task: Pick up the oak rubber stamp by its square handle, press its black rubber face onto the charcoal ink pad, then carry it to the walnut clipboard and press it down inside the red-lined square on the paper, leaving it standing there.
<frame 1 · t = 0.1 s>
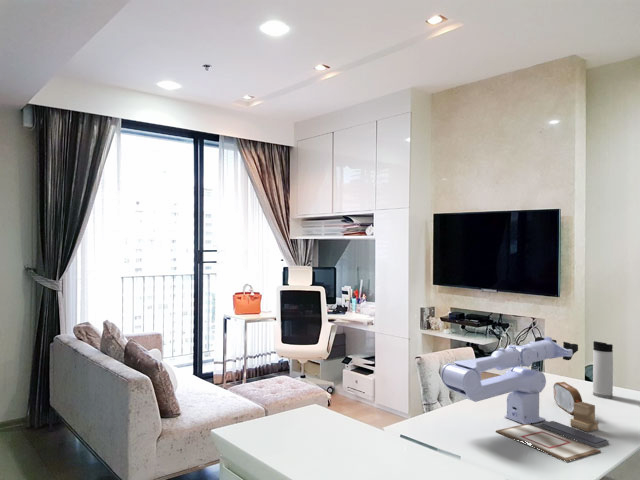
hand: (566, 345, 158), 22 cm above the table, tool horizontal, fingers open, 7 cm apart
travel mug: (602, 396, 176), on the table
stamp: (584, 428, 142), on the table
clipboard: (545, 441, 131), on the table
ink pad: (572, 435, 136), on the table
tin: (566, 411, 158), on the table
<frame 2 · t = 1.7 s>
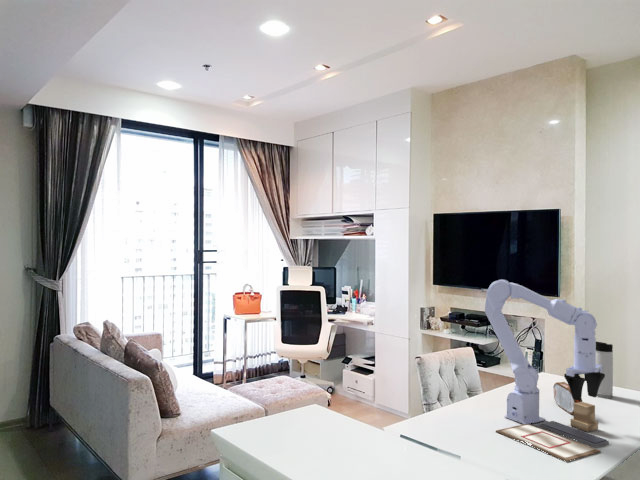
hand: (584, 398, 142), 9 cm above the table, tool pointing down, fingers open, 7 cm apart
nothing on the table moved.
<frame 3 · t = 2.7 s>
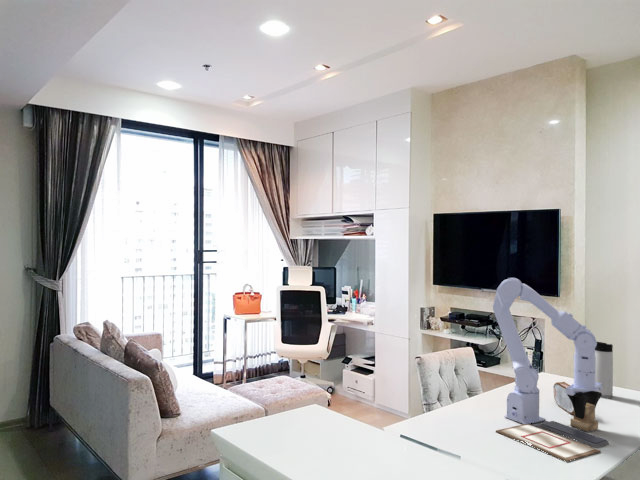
hand: (584, 416, 142), 3 cm above the table, tool pointing down, fingers closed on stamp, 4 cm apart
stamp: (584, 428, 142), on the table, touching gripper
everything else where it was.
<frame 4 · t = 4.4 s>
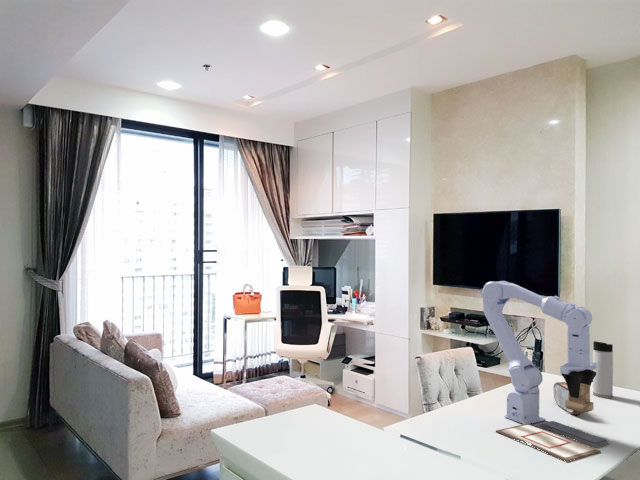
hand: (578, 396, 138), 10 cm above the table, tool pointing down, fingers closed on stamp, 4 cm apart
stamp: (579, 409, 138), point 7 cm above the table, touching gripper
everything else where it was.
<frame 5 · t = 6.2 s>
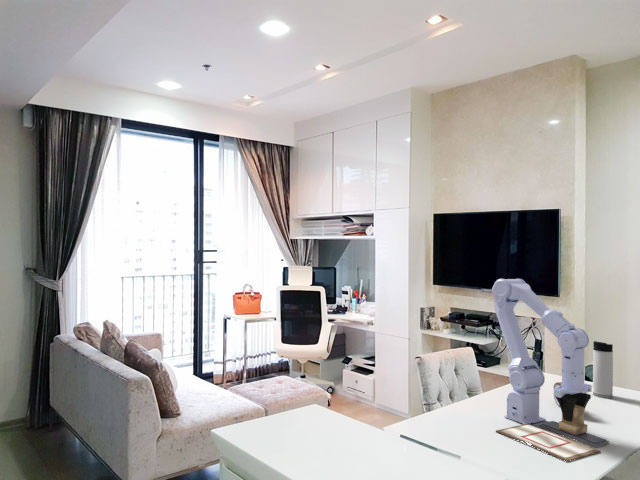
hand: (572, 419, 136), 4 cm above the table, tool pointing down, fingers closed on stamp, 4 cm apart
stamp: (572, 431, 136), point 1 cm above the table, touching gripper, ink pad
everything else where it was.
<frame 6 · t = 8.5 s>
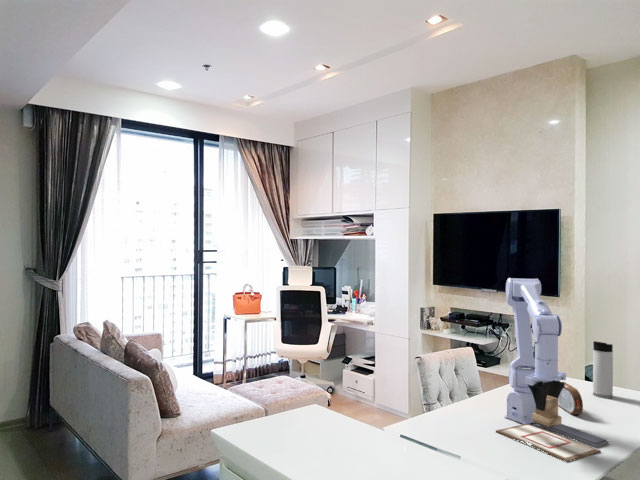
hand: (545, 408, 131), 9 cm above the table, tool pointing down, fingers closed on stamp, 4 cm apart
stamp: (546, 423, 131), point 5 cm above the table, touching gripper
everything else where it was.
when the fingers open (4 cm above the table, at t = 9.9 s): stamp stays where it is, resting on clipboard.
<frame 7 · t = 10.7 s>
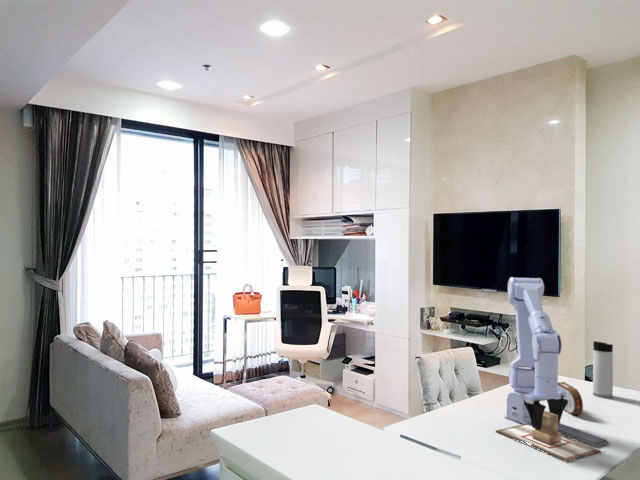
hand: (545, 426, 131), 4 cm above the table, tool pointing down, fingers open, 7 cm apart
stamp: (546, 440, 130), resting on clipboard
everything else where it was.
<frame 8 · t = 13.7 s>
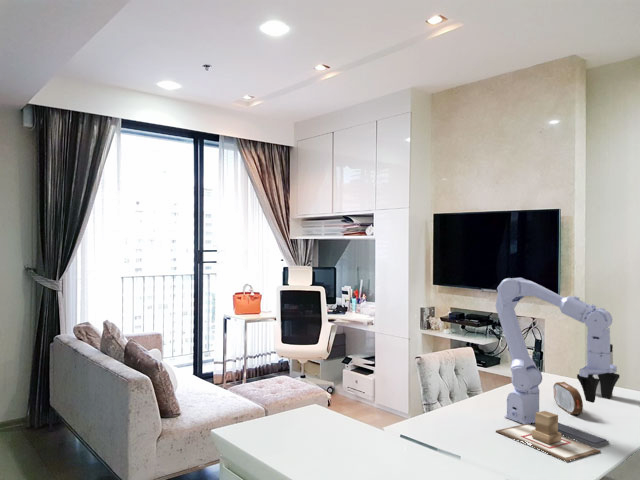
hand: (598, 399, 135), 10 cm above the table, tool pointing down, fingers open, 7 cm apart
nothing on the table moved.
at the end: stamp 0.3 cm off-centre on the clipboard, point 0.5 cm above the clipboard's base; stamp tilted 0°; the gripper is holding nothing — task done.
